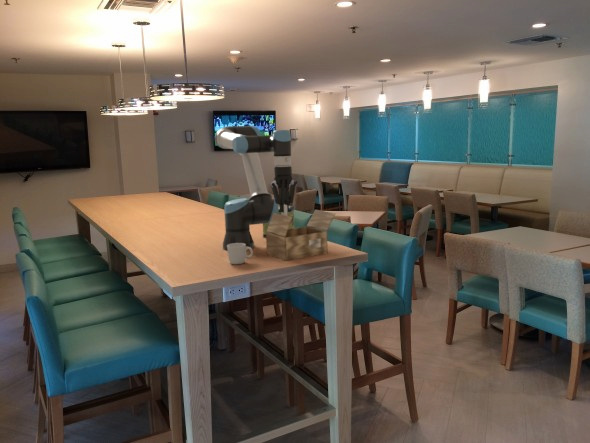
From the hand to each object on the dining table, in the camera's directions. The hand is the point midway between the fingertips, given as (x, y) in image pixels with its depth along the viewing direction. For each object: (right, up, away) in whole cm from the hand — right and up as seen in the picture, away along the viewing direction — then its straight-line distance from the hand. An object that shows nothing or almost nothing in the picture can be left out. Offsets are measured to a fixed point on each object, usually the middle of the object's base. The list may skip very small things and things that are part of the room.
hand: (284, 219), depth 212 cm
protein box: (-4, -9, +48) cm, 49 cm away
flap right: (+14, -4, +9) cm, 18 cm away
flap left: (-4, -7, -2) cm, 8 cm away
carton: (+5, -15, +5) cm, 17 cm away
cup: (-19, -19, -9) cm, 28 cm away
